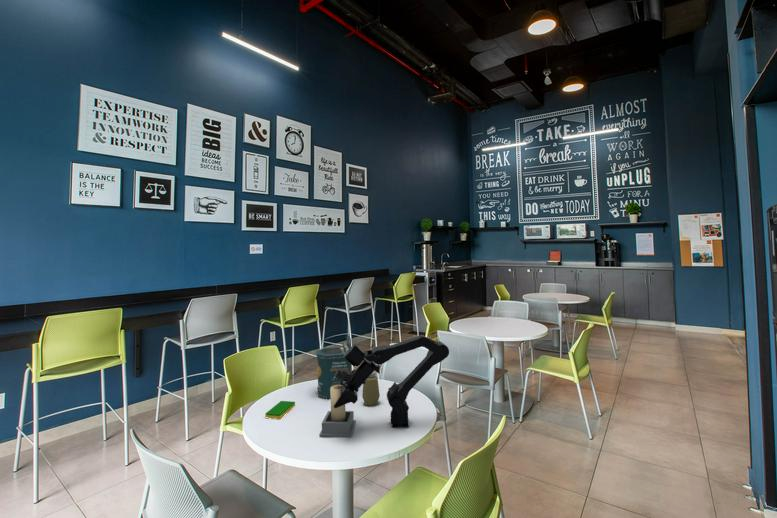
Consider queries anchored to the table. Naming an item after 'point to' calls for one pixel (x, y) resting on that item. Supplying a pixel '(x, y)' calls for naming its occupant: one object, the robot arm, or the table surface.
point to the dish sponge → (280, 409)
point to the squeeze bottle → (371, 390)
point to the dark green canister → (331, 367)
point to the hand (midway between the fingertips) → (334, 404)
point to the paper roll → (334, 404)
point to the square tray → (338, 426)
